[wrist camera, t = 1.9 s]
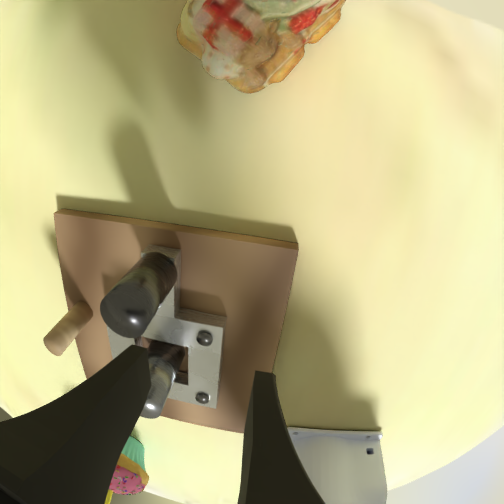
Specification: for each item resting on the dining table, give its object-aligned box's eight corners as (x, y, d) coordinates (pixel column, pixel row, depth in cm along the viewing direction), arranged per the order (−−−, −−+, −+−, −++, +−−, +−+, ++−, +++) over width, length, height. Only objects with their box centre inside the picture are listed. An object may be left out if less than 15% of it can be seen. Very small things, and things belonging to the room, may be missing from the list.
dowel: (91, 303, 21) (58, 340, 17) (94, 321, 21) (64, 358, 17) (74, 299, 21) (41, 333, 17) (77, 316, 21) (47, 351, 17)
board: (298, 243, 18) (298, 250, 17) (256, 426, 26) (255, 435, 25) (62, 208, 19) (53, 212, 18) (95, 386, 26) (91, 393, 26)
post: (185, 338, 21) (159, 397, 16) (185, 365, 22) (162, 422, 17) (149, 330, 21) (117, 385, 16) (152, 357, 22) (124, 411, 17)
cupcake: (169, 463, 31) (143, 543, 20) (114, 454, 33) (84, 523, 22) (138, 424, 28) (99, 516, 17) (81, 415, 30) (39, 490, 19)
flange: (218, 397, 23) (203, 457, 17) (124, 373, 23) (95, 424, 18) (233, 254, 18) (210, 313, 12) (105, 234, 18) (50, 276, 13)
